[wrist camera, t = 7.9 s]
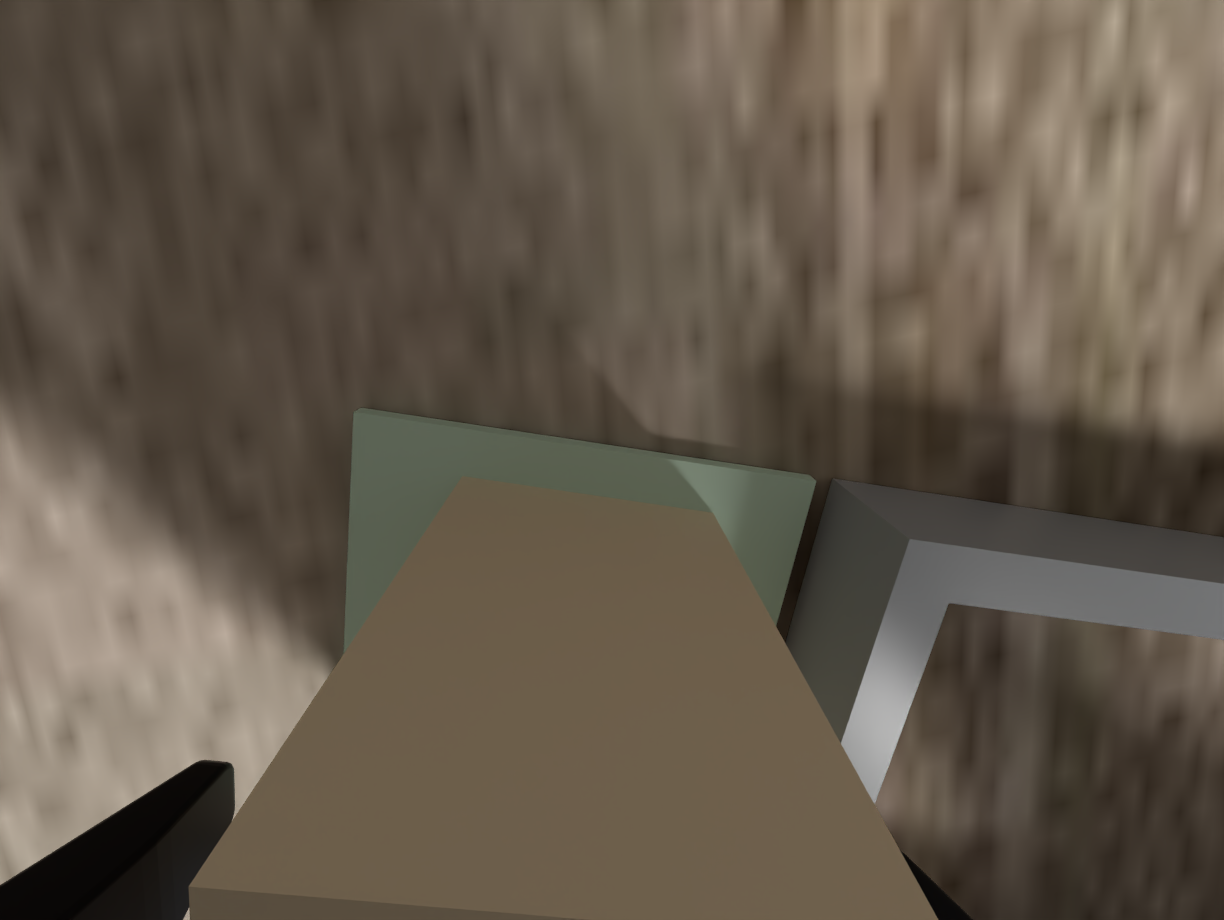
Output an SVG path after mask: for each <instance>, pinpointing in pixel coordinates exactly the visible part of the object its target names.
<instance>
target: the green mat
mask: <svg viewBox="0 0 1224 920" xmlns="http://www.w3.org/2000/svg"><path fill="white" fill-rule="evenodd" d="M462 476H465V477H472V478H479V479H486V480H493V481H500V482H506V483H513V484H520V485H527V486H534V487H541V488H547V489H554V490H561V491H568V492H575V493H582V494H589V495H595V496H602V497H609V498H616V499H623V500H630V501H636V502H643V503H650V504H657V505H664V506H671V507H678V508H684V509H691V510H698V511H705V512H712V513H713V514H714V515H715V517H716V519H717V521H718V523H719V524H720V526H721V528H722V530H723V532H724V533H725V535H726V537H727V539H728V541H729V542H730V544H731V546H732V548H733V550H734V551H735V553H736V555H737V557H738V559H739V561H740V562H741V564H742V566H743V568H744V570H745V571H746V573H747V575H748V577H749V579H750V580H751V582H752V584H753V586H754V588H755V589H756V591H757V593H758V595H759V597H760V598H761V600H762V602H763V604H764V606H765V607H766V609H767V611H768V613H769V615H770V617H771V618H772V620H773V622H774V624H775V626H776V624H777V621H778V617H779V614H780V610H781V607H782V603H783V599H784V596H785V592H786V589H787V585H788V581H789V578H790V574H791V571H792V567H793V564H794V560H795V556H796V553H797V549H798V546H799V542H800V539H801V535H802V531H803V528H804V524H805V521H806V517H807V513H808V510H809V506H810V503H811V499H812V496H813V492H814V488H815V485H816V480H815V479H813V478H812V477H811V476H810V475H806V474H800V473H793V472H787V471H780V470H773V469H767V468H760V467H753V466H747V465H740V464H733V463H727V462H720V461H713V460H707V459H700V458H693V457H687V456H680V455H673V454H667V453H660V452H653V451H647V450H640V449H633V448H627V447H620V446H613V445H607V444H600V443H593V442H587V441H580V440H573V439H567V438H560V437H554V436H547V435H540V434H534V433H527V432H520V431H514V430H507V429H500V428H494V427H487V426H480V425H474V424H467V423H460V422H454V421H447V420H440V419H434V418H427V417H420V416H414V415H407V414H400V413H394V412H387V411H380V410H374V409H367V408H360V409H358V410H356V411H354V412H353V436H352V460H351V484H350V508H349V532H348V556H347V580H346V605H345V629H344V653H345V651H346V650H347V648H348V647H349V645H350V644H351V642H352V641H353V639H354V638H355V636H356V635H357V633H358V632H359V630H360V629H361V627H362V626H363V624H364V623H365V621H366V620H367V618H368V617H369V615H370V614H371V612H372V611H373V609H374V608H375V606H376V605H377V603H378V602H379V600H380V599H381V597H382V596H383V594H384V593H385V591H386V590H387V588H388V587H389V585H390V584H391V582H392V581H393V579H394V578H395V576H396V575H397V573H398V572H399V570H400V569H401V567H402V566H403V564H404V563H405V561H406V560H407V558H408V557H409V555H410V554H411V552H412V551H413V549H414V548H415V546H416V545H417V543H418V542H419V540H420V539H421V537H422V536H423V534H424V533H425V531H426V530H427V528H428V527H429V525H430V524H431V522H432V521H433V519H434V518H435V516H436V515H437V513H438V512H439V510H440V509H441V507H442V506H443V504H444V503H445V501H446V500H447V498H448V497H449V495H450V494H451V492H452V491H453V489H454V488H455V486H456V485H457V483H458V482H459V480H460V479H461V477H462ZM344 653H343V654H344Z"/></svg>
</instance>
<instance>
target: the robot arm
mask: <svg viewBox="0 0 1224 920" xmlns="http://www.w3.org/2000/svg"><path fill="white" fill-rule="evenodd" d="M234 810H235V788H234V768H233V766H232V764H231V763H228V762H222V761H212V760H201V761H198V762H196V763H194V764H192V765H191V766H189V767H188V768H186V769H184V770H183V771H181V772H180V773H178V774H176V775H175V776H173V777H172V778H170V779H169V780H167V781H165V782H164V783H162V784H161V785H159V786H157V787H156V788H154V789H153V790H151V791H149V792H148V793H146V794H145V795H143V796H141V797H140V798H138V799H137V800H135V801H133V802H132V803H130V804H129V805H127V806H126V807H124V808H122V809H121V810H119V811H118V812H116V813H114V814H113V815H111V816H110V817H108V818H106V819H105V820H103V821H102V822H100V823H98V824H97V825H95V826H94V827H92V828H91V829H89V830H87V831H86V832H84V833H83V834H81V835H79V836H78V837H76V838H75V839H73V840H71V841H70V842H68V843H67V844H65V845H63V846H62V847H60V848H59V849H57V850H55V851H54V852H52V853H51V854H49V855H48V856H46V857H44V858H43V859H41V860H40V861H38V862H36V863H35V864H33V865H32V866H30V867H28V868H27V869H25V870H24V871H22V872H20V873H19V874H17V875H16V876H14V877H12V878H11V879H9V880H8V881H6V882H5V883H3V884H1V885H0V920H183V918H184V916H185V914H186V912H187V910H188V908H189V885H190V884H191V882H192V881H193V879H194V878H195V876H196V875H197V873H198V872H199V870H200V869H201V867H202V866H203V864H204V863H205V861H206V860H207V858H208V857H209V855H210V854H211V852H212V851H213V849H214V848H215V846H216V845H217V843H218V842H219V840H220V839H221V837H222V836H223V834H224V833H225V831H226V830H227V828H228V827H229V825H230V824H231V822H232V819H233V815H234ZM899 850H900V849H899ZM900 851H901V850H900ZM901 853H902V855H903V857H904V859H905V860H906V862H907V864H908V866H909V868H910V869H911V871H912V873H913V875H914V877H915V878H916V880H917V882H918V884H919V886H920V887H921V889H922V891H923V893H924V895H925V897H926V898H927V900H928V902H929V904H930V906H931V907H932V909H933V911H934V913H935V915H936V916H937V918H938V920H973V919H972V918H971V917H970V916H969V915H968V914H967V913H966V912H964V911H963V910H962V909H961V908H960V907H959V906H958V905H957V904H956V903H955V902H954V901H953V900H952V899H951V898H950V897H949V896H948V895H947V894H946V893H945V892H944V891H943V890H942V889H941V888H939V887H938V886H937V885H936V884H935V883H934V882H933V881H932V880H931V879H930V878H929V877H928V876H927V875H926V874H925V873H924V872H923V871H922V870H921V869H920V868H919V867H918V866H917V865H916V864H914V863H913V862H912V861H911V860H910V859H909V858H908V857H907V856H906V855H905V854H904V853H903V852H902V851H901Z"/></svg>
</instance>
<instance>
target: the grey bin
mask: <svg viewBox="0 0 1224 920" xmlns="http://www.w3.org/2000/svg"><path fill="white" fill-rule="evenodd" d="M949 603H952V604H959V605H967V606H974V607H982V608H989V609H997V610H1004V611H1012V612H1019V613H1027V614H1034V615H1041V616H1049V617H1056V618H1064V619H1071V620H1079V621H1086V622H1094V623H1101V624H1109V625H1116V626H1124V627H1131V628H1139V629H1146V630H1154V631H1161V632H1169V633H1176V634H1184V635H1191V636H1199V637H1206V638H1214V639H1221V640H1224V537H1219V536H1213V535H1206V534H1199V533H1193V532H1186V531H1179V530H1173V529H1166V528H1159V527H1153V526H1146V525H1139V524H1133V523H1126V522H1119V521H1113V520H1106V519H1099V518H1093V517H1086V516H1079V515H1073V514H1066V513H1059V512H1053V511H1046V510H1040V509H1033V508H1026V507H1020V506H1013V505H1006V504H1000V503H993V502H986V501H980V500H973V499H966V498H960V497H953V496H946V495H940V494H933V493H926V492H920V491H913V490H906V489H900V488H893V487H886V486H880V485H873V484H866V483H860V482H853V481H846V480H840V479H833V478H832V481H831V485H830V488H829V492H828V495H827V499H826V502H825V506H824V509H823V513H822V516H821V520H820V523H819V527H818V530H817V534H816V537H815V541H814V544H813V548H812V551H811V555H810V558H809V562H808V565H807V568H806V572H805V575H804V579H803V582H802V586H801V589H800V593H799V596H798V600H797V603H796V607H795V610H794V614H793V617H792V621H791V624H790V628H789V631H788V635H787V638H786V642H785V644H786V645H787V647H788V649H789V651H790V653H791V654H792V656H793V658H794V660H795V662H796V663H797V665H798V667H799V669H800V671H801V673H802V674H803V676H804V678H805V680H806V682H807V683H808V685H809V687H810V689H811V691H812V692H813V694H814V696H815V698H816V700H817V701H818V703H819V705H820V707H821V709H822V710H823V712H824V714H825V716H826V718H827V719H828V721H829V723H830V725H831V727H832V729H833V730H834V732H835V734H836V736H837V738H838V739H839V741H840V743H841V745H842V747H843V748H844V750H845V752H846V754H847V756H848V757H849V759H850V761H851V763H852V765H853V766H854V768H855V770H856V772H857V774H858V775H859V777H860V779H861V781H862V783H863V785H864V786H865V788H866V790H867V792H868V794H869V795H870V797H871V799H872V801H873V803H874V804H875V802H876V799H877V796H878V793H879V791H880V788H881V785H882V783H883V780H884V777H885V774H886V772H887V769H888V766H889V764H890V761H891V758H892V756H893V753H894V750H895V747H896V745H897V742H898V739H899V737H900V734H901V731H902V729H903V726H904V723H905V720H906V718H907V715H908V712H909V710H910V707H911V704H912V701H913V699H914V696H915V693H916V691H917V688H918V685H919V683H920V680H921V677H922V674H923V672H924V669H925V666H926V664H927V661H928V658H929V655H930V653H931V650H932V647H933V645H934V642H935V639H936V637H937V634H938V631H939V628H940V626H941V623H942V620H943V618H944V615H945V612H946V610H947V607H948V604H949Z"/></svg>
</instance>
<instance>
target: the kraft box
mask: <svg viewBox="0 0 1224 920" xmlns="http://www.w3.org/2000/svg"><path fill="white" fill-rule="evenodd" d="M189 907H190V920H938V918H937V916H936V915H935V913H934V911H933V909H932V907H931V906H930V904H929V902H928V900H927V898H926V897H925V895H924V893H923V891H922V889H921V887H920V886H919V884H918V882H917V880H916V878H915V877H914V875H913V873H912V871H911V869H910V868H909V866H908V864H907V862H906V860H905V859H904V857H903V855H902V853H901V851H900V850H899V848H898V846H897V844H896V842H895V841H894V839H893V837H892V835H891V833H890V831H889V830H888V828H887V826H886V824H885V822H884V821H883V819H882V817H881V815H880V813H879V812H878V810H877V808H876V806H875V804H874V803H873V801H872V799H871V797H870V795H869V794H868V792H867V790H866V788H865V786H864V785H863V783H862V781H861V779H860V777H859V775H858V774H857V772H856V770H855V768H854V766H853V765H852V763H851V761H850V759H849V757H848V756H847V754H846V752H845V750H844V748H843V747H842V745H841V743H840V741H839V739H838V738H837V736H836V734H835V732H834V730H833V729H832V727H831V725H830V723H829V721H828V719H827V718H826V716H825V714H824V712H823V710H822V709H821V707H820V705H819V703H818V701H817V700H816V698H815V696H814V694H813V692H812V691H811V689H810V687H809V685H808V683H807V682H806V680H805V678H804V676H803V674H802V673H801V671H800V669H799V667H798V665H797V663H796V662H795V660H794V658H793V656H792V654H791V653H790V651H789V649H788V647H787V645H786V644H785V642H784V640H783V638H782V636H781V635H780V633H779V631H778V629H777V627H776V626H775V624H774V622H773V620H772V618H771V617H770V615H769V613H768V611H767V609H766V607H765V606H764V604H763V602H762V600H761V598H760V597H759V595H758V593H757V591H756V589H755V588H754V586H753V584H752V582H751V580H750V579H749V577H748V575H747V573H746V571H745V570H744V568H743V566H742V564H741V562H740V561H739V559H738V557H737V555H736V553H735V551H734V550H733V548H732V546H731V544H730V542H729V541H728V539H727V537H726V535H725V533H724V532H723V530H722V528H721V526H720V524H719V523H718V521H717V519H716V517H715V515H714V514H713V513H712V512H705V511H698V510H691V509H684V508H678V507H671V506H664V505H657V504H650V503H643V502H636V501H630V500H623V499H616V498H609V497H602V496H595V495H589V494H582V493H575V492H568V491H561V490H554V489H547V488H541V487H534V486H527V485H520V484H513V483H506V482H500V481H493V480H486V479H479V478H472V477H465V476H462V477H461V479H460V480H459V482H458V483H457V485H456V486H455V488H454V489H453V491H452V492H451V494H450V495H449V497H448V498H447V500H446V501H445V503H444V504H443V506H442V507H441V509H440V510H439V512H438V513H437V515H436V516H435V518H434V519H433V521H432V522H431V524H430V525H429V527H428V528H427V530H426V531H425V533H424V534H423V536H422V537H421V539H420V540H419V542H418V543H417V545H416V546H415V548H414V549H413V551H412V552H411V554H410V555H409V557H408V558H407V560H406V561H405V563H404V564H403V566H402V567H401V569H400V570H399V572H398V573H397V575H396V576H395V578H394V579H393V581H392V582H391V584H390V585H389V587H388V588H387V590H386V591H385V593H384V594H383V596H382V597H381V599H380V600H379V602H378V603H377V605H376V606H375V608H374V609H373V611H372V612H371V614H370V615H369V617H368V618H367V620H366V621H365V623H364V624H363V626H362V627H361V629H360V630H359V632H358V633H357V635H356V636H355V638H354V639H353V641H352V642H351V644H350V645H349V647H348V648H347V650H346V651H345V653H344V654H343V656H342V657H341V659H340V660H339V662H338V663H337V665H336V666H335V668H334V669H333V671H332V672H331V674H330V675H329V677H328V678H327V680H326V681H325V683H324V684H323V686H322V687H321V689H320V690H319V692H318V693H317V695H316V696H315V698H314V699H313V701H312V702H311V704H310V705H309V707H308V708H307V710H306V711H305V713H304V714H303V716H302V717H301V719H300V720H299V722H298V723H297V725H296V726H295V728H294V729H293V731H292V732H291V734H290V735H289V737H288V738H287V740H286V741H285V743H284V744H283V746H282V747H281V749H280V750H279V752H278V753H277V755H276V756H275V758H274V759H273V761H272V762H271V764H270V765H269V767H268V768H267V770H266V771H265V773H264V774H263V776H262V777H261V779H260V780H259V782H258V783H257V785H256V786H255V788H254V789H253V791H252V792H251V794H250V795H249V797H248V798H247V800H246V801H245V803H244V804H243V806H242V807H241V809H240V810H239V812H238V813H237V815H236V816H235V818H234V819H233V821H232V822H231V824H230V825H229V827H228V828H227V830H226V831H225V833H224V834H223V836H222V837H221V839H220V840H219V842H218V843H217V845H216V846H215V848H214V849H213V851H212V852H211V854H210V855H209V857H208V858H207V860H206V861H205V863H204V864H203V866H202V867H201V869H200V870H199V872H198V873H197V875H196V876H195V878H194V879H193V881H192V882H191V884H190V885H189Z"/></svg>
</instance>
